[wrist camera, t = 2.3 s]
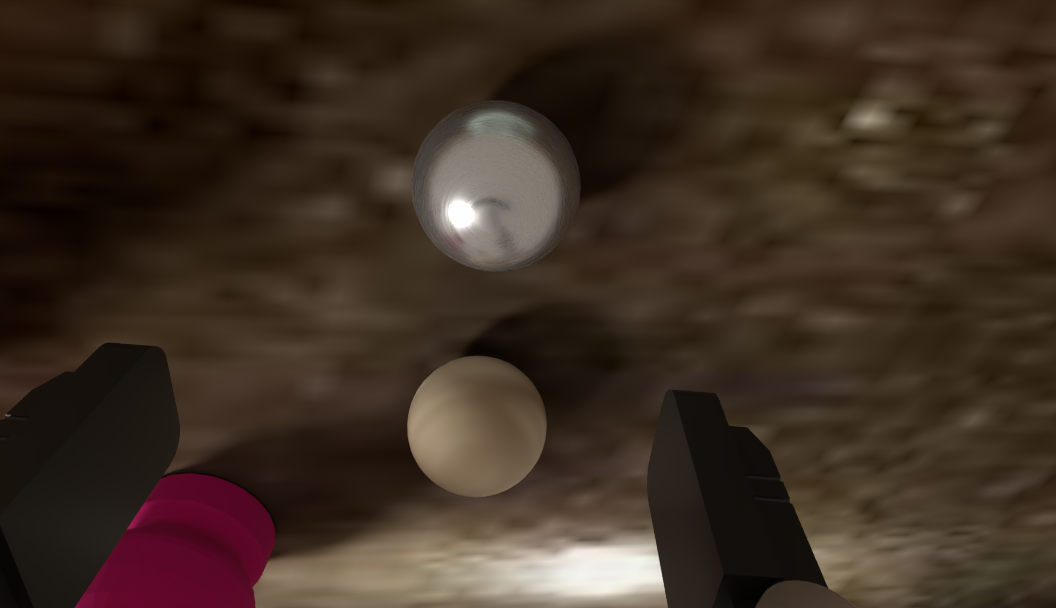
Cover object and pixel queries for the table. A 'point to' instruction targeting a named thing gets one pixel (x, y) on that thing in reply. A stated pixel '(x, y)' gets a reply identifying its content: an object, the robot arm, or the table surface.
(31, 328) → the table surface
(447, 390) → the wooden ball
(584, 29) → the table surface
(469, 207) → the steel ball
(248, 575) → the pepper mill
